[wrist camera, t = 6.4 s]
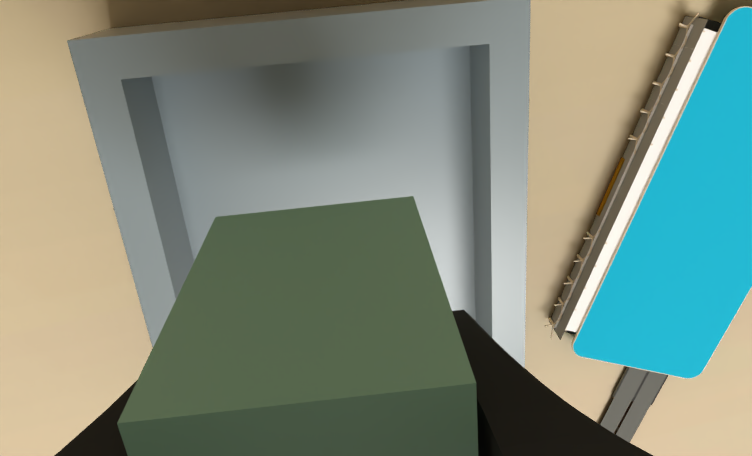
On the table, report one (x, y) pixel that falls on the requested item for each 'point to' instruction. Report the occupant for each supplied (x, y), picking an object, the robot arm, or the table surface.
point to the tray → (322, 135)
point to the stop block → (308, 343)
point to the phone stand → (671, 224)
